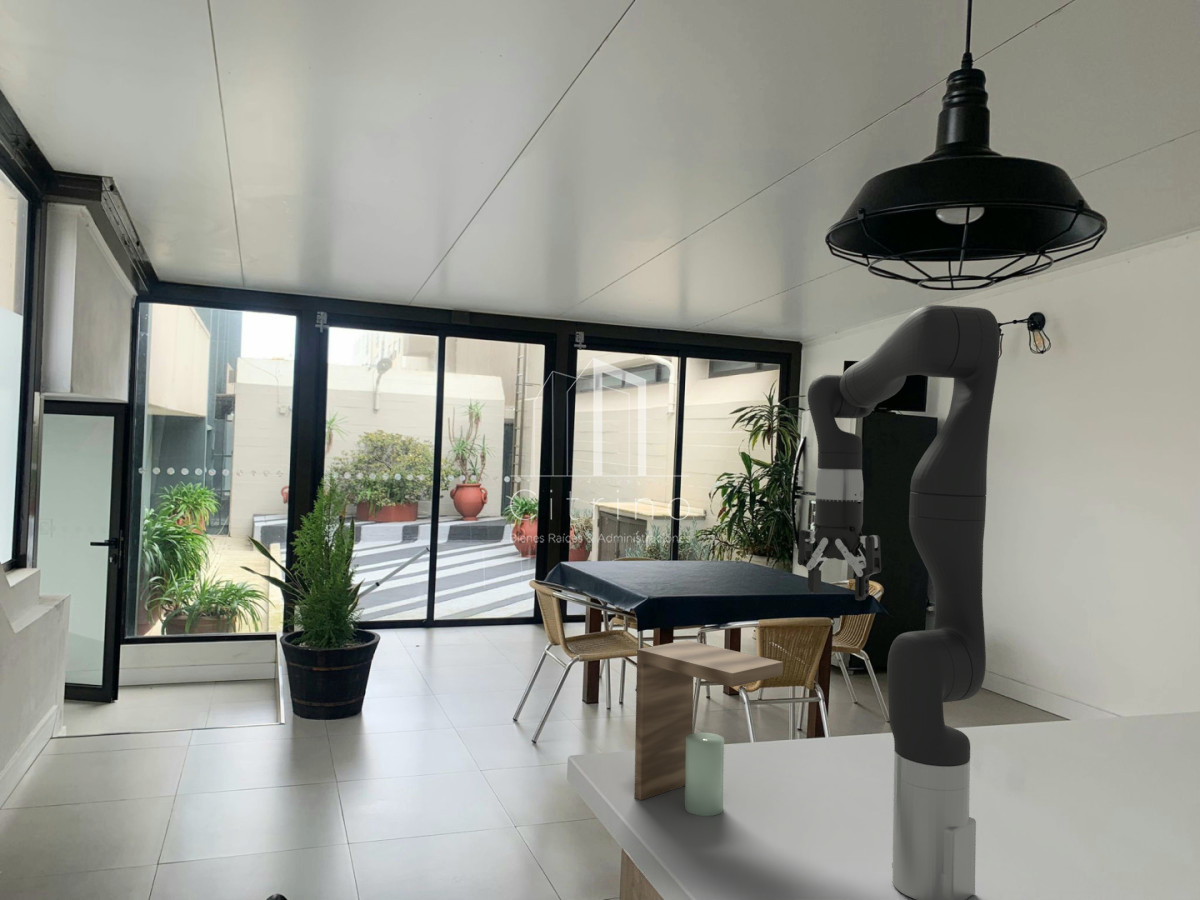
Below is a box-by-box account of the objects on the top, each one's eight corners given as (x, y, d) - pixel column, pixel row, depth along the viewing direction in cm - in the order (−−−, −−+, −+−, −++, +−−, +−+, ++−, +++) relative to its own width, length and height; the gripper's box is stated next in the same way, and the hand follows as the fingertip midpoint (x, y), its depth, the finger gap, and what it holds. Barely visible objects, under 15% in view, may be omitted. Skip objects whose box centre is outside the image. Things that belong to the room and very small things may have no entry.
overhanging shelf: (780, 818, 135) (783, 661, 135) (729, 839, 127) (732, 673, 127) (685, 780, 150) (687, 640, 150) (634, 797, 142) (637, 649, 142)
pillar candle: (730, 809, 138) (732, 739, 138) (705, 819, 134) (706, 747, 134) (702, 797, 143) (703, 730, 143) (676, 807, 139) (678, 737, 139)
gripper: (789, 495, 146) (787, 592, 146) (865, 499, 136) (863, 604, 135) (815, 494, 151) (814, 589, 151) (890, 498, 141) (889, 600, 140)
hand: (837, 596), depth 143 cm, fingers open, 8 cm apart
